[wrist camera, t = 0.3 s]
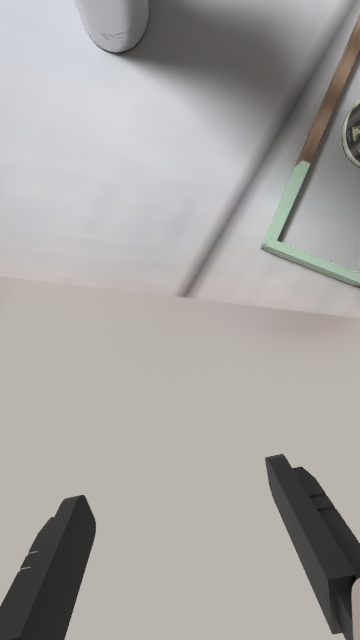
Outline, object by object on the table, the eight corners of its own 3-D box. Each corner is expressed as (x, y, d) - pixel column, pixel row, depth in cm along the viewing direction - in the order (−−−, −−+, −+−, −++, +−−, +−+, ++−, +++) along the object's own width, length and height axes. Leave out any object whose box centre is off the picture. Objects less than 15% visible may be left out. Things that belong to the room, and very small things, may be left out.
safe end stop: (294, 167, 32) (306, 156, 29) (398, 212, 33) (419, 206, 30) (260, 248, 34) (267, 246, 32) (358, 287, 36) (374, 288, 33)
